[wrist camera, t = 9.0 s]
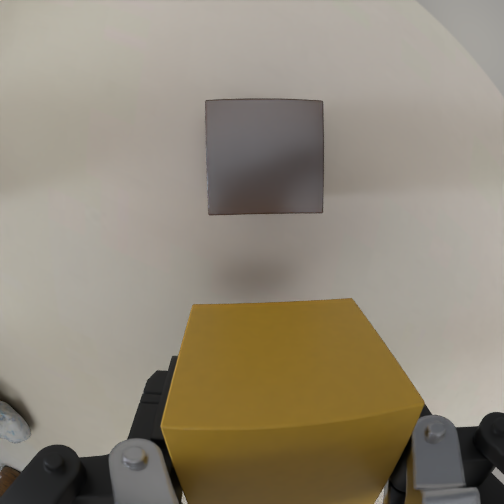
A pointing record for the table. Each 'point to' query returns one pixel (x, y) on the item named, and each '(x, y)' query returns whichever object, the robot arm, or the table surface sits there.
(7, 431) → the decorative stone
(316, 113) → the block
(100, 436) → the table surface
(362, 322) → the yellow block
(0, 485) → the utensil holder
